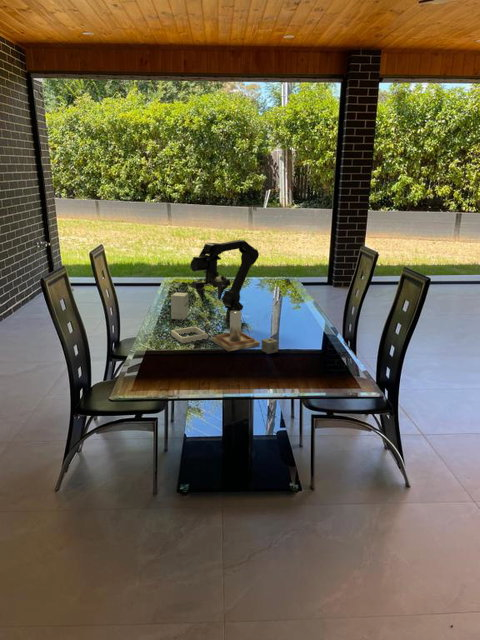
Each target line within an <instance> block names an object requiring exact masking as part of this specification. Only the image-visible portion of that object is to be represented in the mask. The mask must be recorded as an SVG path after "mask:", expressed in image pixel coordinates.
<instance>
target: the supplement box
mask: <svg viewBox="0 0 480 640" xmlns="http://www.w3.org/2000/svg"><path fill="white" fill-rule="evenodd" d="M170 309H171V310H170V312H171V318H170V319H172V320H181V319H182V321H183V320H184V321H185V320H186V318H188V317H189V293H188V292H174V293H172V294H171V295H170ZM187 316H188V317H187Z"/></svg>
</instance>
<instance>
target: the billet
mask: <svg viewBox="0 0 480 640" xmlns="http://www.w3.org/2000/svg"><path fill="white" fill-rule="evenodd" d="M241 320H242V310H240V311H230V322H229V333H230V341H234V342H237V341H240V340H241V332H242V321H241Z"/></svg>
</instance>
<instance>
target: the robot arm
mask: <svg viewBox="0 0 480 640" xmlns="http://www.w3.org/2000/svg"><path fill="white" fill-rule="evenodd" d="M235 250H238V251H239V253H241V256H240V259H241V263H240V266H239V267H238V271H237V273H236V275H235V278H234V280H233V282H232V284H231V281H230V279H228V278H227V277H226V275H223V276H220V275H219V271H218V261H220V260H222V257H220V255H221V254H223V253H224V252H228V251H235ZM259 257H260V253H259V251H258V249H256V248H255V247H254V246H252V245H250V243H248V242H247V241H246V240H245V239H241V238H240V239H237V240H231V241H225V242H221V243H219V242H218V243H217V242H206V243H205V244H204V246H203V248H202V250H201V252H200V253H199V256H193V257H192V260H191V261H190V265H189V266H190V269H191V271H192V272H194V273H195V272H202V271H203V273H204V274H205V275H204V277H205V278H203V281H200V280H193V281H192V282H191V288H193V289H195V290H196V291H197V294H198V295H199V298H200V301H201V302H203V303H204V301H205V300H204V299H205V298H204V297H205V295H204V292H205V287H207V286H209V287H210V286H212V287H213V288H216V289H217V298H218V300H221V302H222V304H223V306H224V308H225V309H226V312H225V321H227V322H229V323H230V311H243V309H244V305H243V304H242V303H241V302H240V300H241V289H242V288H243V285H244V283H245V280H246V279H247V275H248V273H249V271H250V268H251V267H252V266H253V265H254V264H255V263H256V262H257V261H258V259H259ZM230 286H231V287H230ZM229 287H230V289H229V290H227V288H229ZM225 289H226V290H225ZM223 293H224V294H223ZM221 298H222V299H221ZM242 320H243V319H241V322H242Z"/></svg>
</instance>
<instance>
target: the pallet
mask: <svg viewBox="0 0 480 640" xmlns="http://www.w3.org/2000/svg"><path fill="white" fill-rule="evenodd" d="M211 341H212V342H213V343H214V344H216V345H218V346H219V347H220V348H222V349H224V350H226V351H227V352H232V351H236V350H237V351H238V350H242V349H248V348H252V347H259V346H260V345H261V344H260V343H261V342H260V341H259V340H256V339H255V338H254V337H251V336H250V335H248V334H246V333H244V332H243V331H241V340H240V341H237V342H234V341H230V332H226V333H222V334H217V335H216V336H212V337H211Z"/></svg>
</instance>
